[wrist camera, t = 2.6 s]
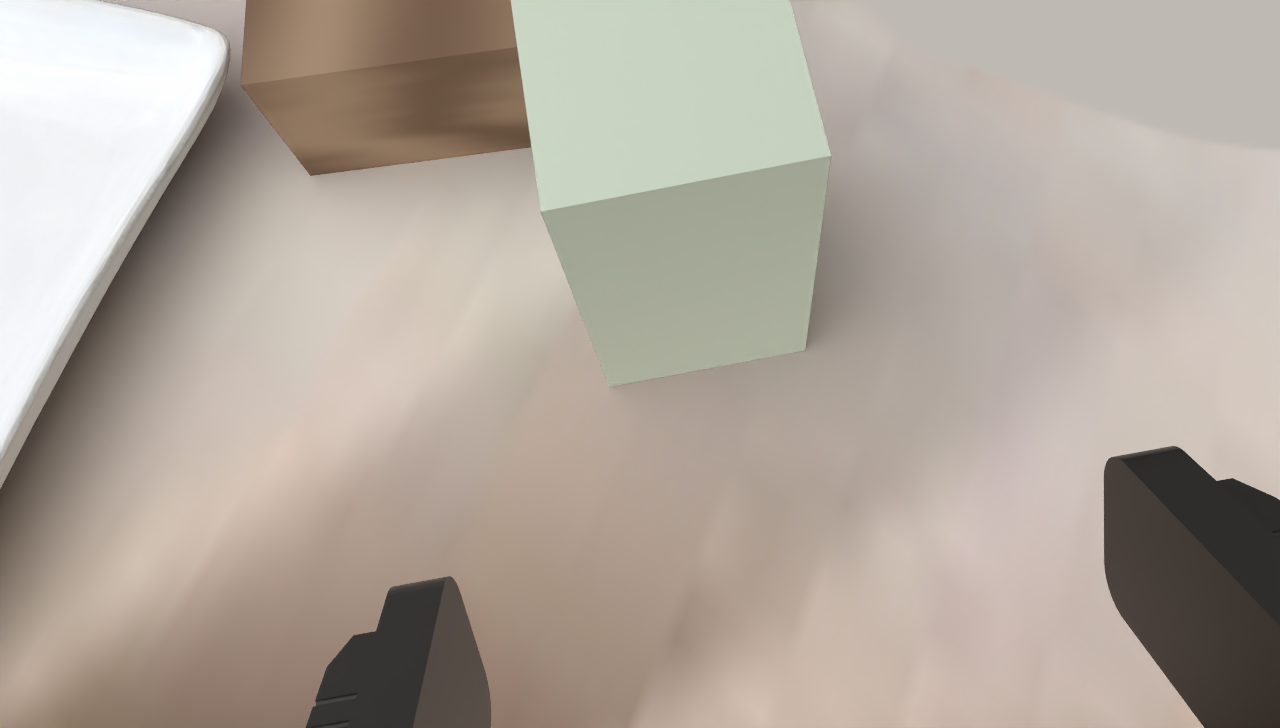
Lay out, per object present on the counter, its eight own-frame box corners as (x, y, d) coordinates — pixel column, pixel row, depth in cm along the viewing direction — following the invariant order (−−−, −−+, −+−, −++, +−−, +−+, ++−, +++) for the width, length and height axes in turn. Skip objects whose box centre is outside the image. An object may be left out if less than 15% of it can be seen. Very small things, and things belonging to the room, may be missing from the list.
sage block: (764, 179, 30) (770, -72, 21) (805, 350, 28) (831, 155, 19) (581, 215, 31) (507, -20, 21) (609, 387, 29) (540, 211, 19)
